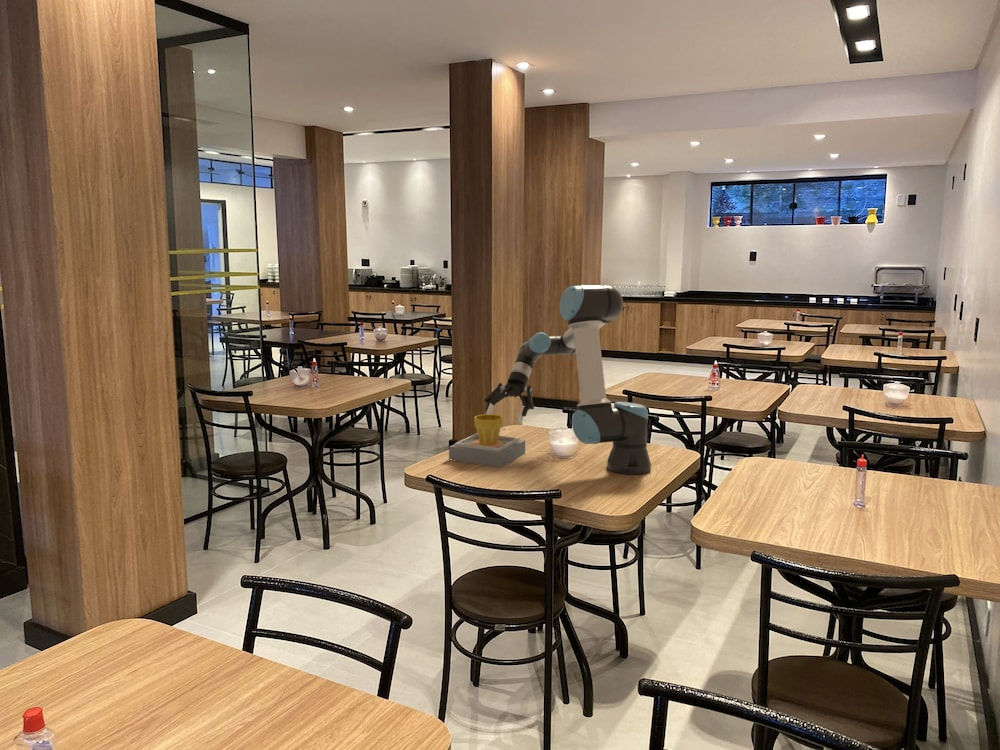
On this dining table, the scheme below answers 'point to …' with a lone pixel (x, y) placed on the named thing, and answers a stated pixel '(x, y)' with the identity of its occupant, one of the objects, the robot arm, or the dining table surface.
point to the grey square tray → (487, 451)
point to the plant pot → (488, 428)
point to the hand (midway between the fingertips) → (502, 420)
